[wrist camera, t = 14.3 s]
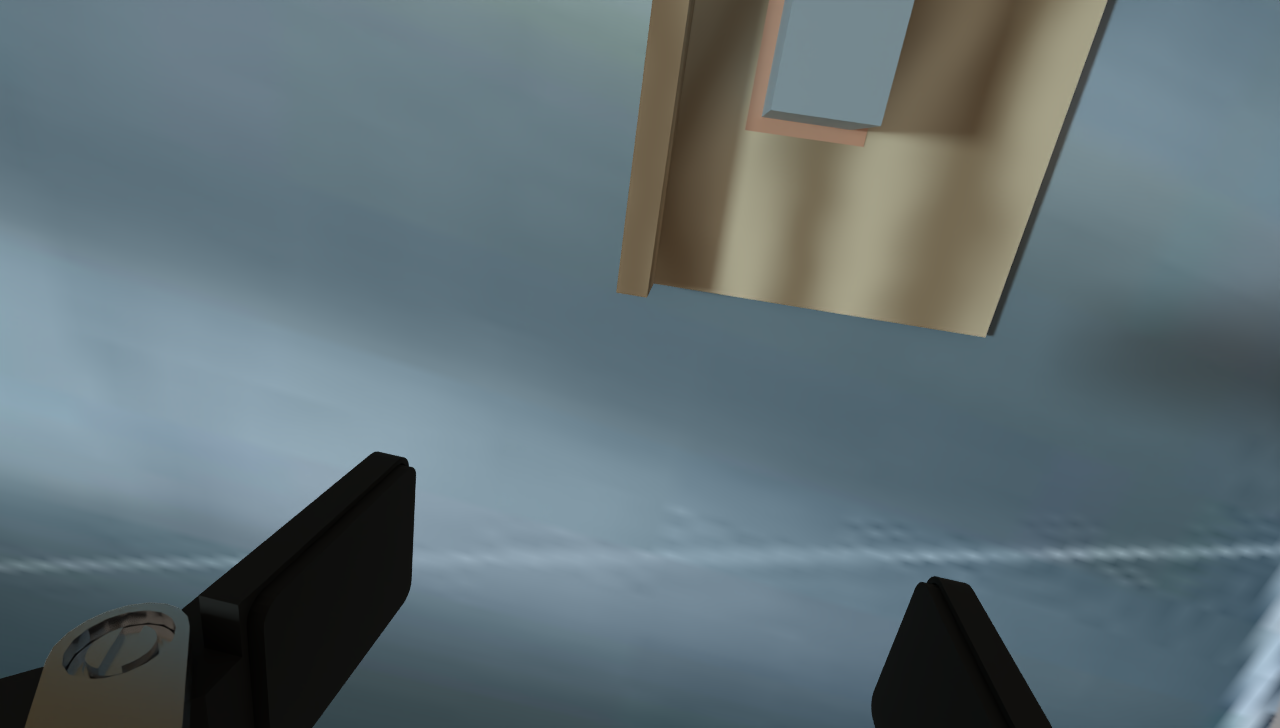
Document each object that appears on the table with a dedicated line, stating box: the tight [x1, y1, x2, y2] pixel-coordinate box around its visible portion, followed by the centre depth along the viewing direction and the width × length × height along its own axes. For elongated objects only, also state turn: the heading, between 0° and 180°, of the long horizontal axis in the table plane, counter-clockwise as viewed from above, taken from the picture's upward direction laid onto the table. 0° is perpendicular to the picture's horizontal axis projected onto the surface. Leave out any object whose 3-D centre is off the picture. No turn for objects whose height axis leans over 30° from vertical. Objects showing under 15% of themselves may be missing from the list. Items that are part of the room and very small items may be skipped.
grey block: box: [762, 0, 914, 130], centre depth 26 cm, size 7×4×6 cm, turn 172°
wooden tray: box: [616, 0, 1108, 337], centre depth 28 cm, size 20×20×4 cm
